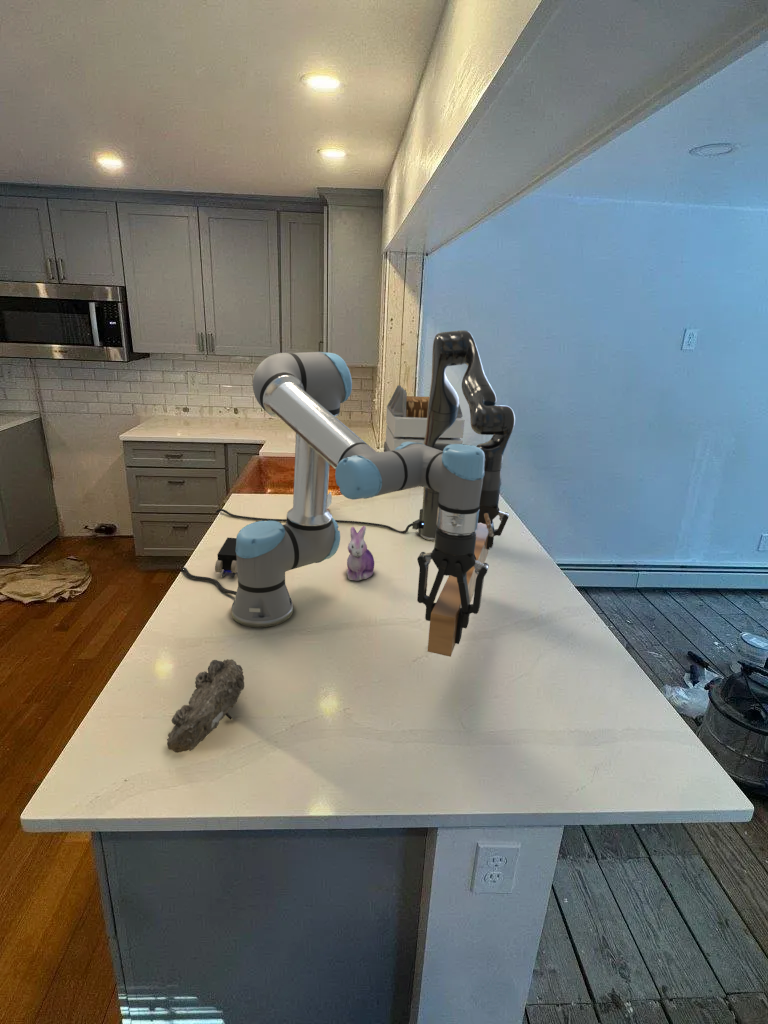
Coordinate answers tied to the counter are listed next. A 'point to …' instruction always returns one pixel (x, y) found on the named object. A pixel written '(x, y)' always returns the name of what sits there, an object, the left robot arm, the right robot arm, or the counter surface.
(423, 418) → the grey stacking crate
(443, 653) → the post
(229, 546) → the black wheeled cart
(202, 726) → the fossil
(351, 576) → the figurine
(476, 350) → the right robot arm
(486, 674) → the counter surface
